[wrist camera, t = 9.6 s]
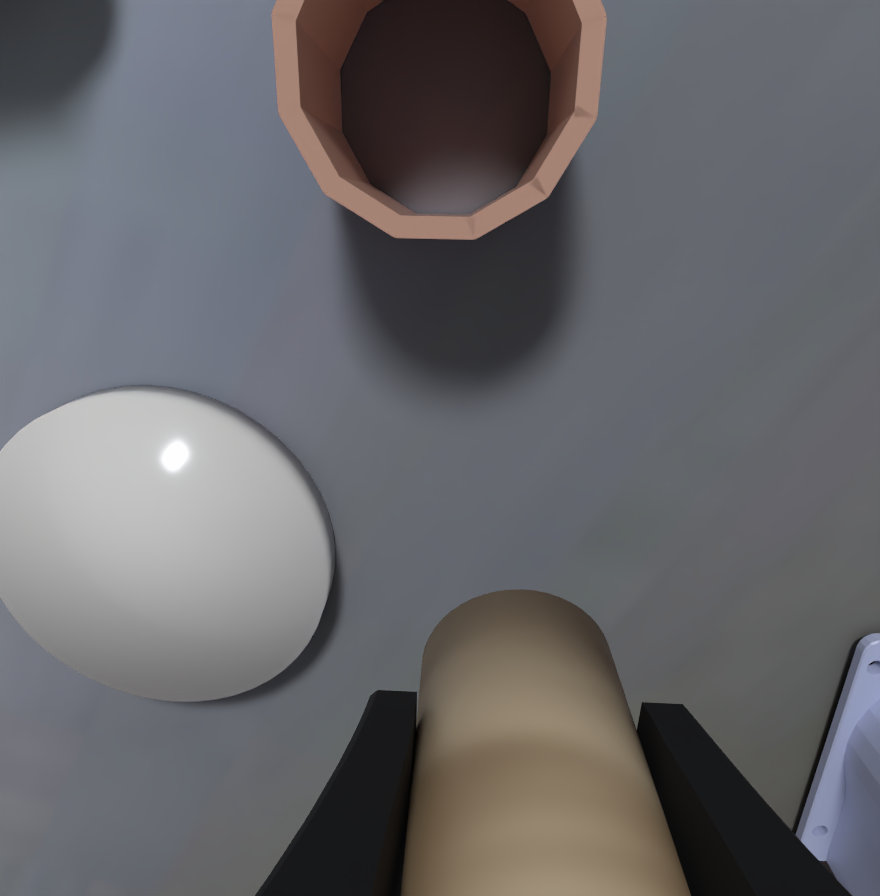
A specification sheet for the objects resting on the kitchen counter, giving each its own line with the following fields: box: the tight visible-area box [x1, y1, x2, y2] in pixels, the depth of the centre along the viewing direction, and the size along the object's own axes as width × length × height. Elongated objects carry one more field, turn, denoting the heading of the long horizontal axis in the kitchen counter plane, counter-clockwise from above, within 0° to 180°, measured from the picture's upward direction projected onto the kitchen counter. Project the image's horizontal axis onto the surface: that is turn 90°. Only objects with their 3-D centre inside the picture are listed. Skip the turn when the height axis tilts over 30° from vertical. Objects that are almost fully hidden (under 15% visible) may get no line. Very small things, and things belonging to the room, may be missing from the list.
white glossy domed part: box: [0, 385, 335, 702], centre depth 18 cm, size 10×10×1 cm
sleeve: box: [272, 0, 607, 240], centre depth 12 cm, size 6×6×4 cm
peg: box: [401, 590, 691, 896], centre depth 8 cm, size 3×3×6 cm
